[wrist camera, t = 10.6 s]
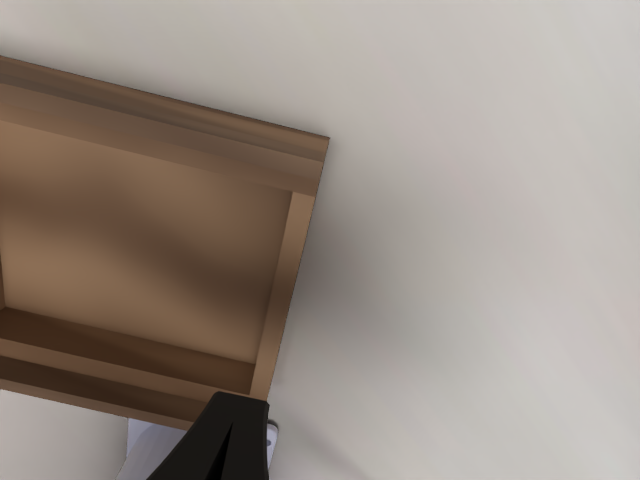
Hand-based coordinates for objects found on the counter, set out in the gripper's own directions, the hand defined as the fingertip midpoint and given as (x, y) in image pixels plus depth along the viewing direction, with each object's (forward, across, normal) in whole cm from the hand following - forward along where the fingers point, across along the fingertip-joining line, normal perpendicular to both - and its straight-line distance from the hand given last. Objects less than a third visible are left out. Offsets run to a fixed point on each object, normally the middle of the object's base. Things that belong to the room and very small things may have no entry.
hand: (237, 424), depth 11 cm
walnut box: (+9, +6, +1) cm, 11 cm away
